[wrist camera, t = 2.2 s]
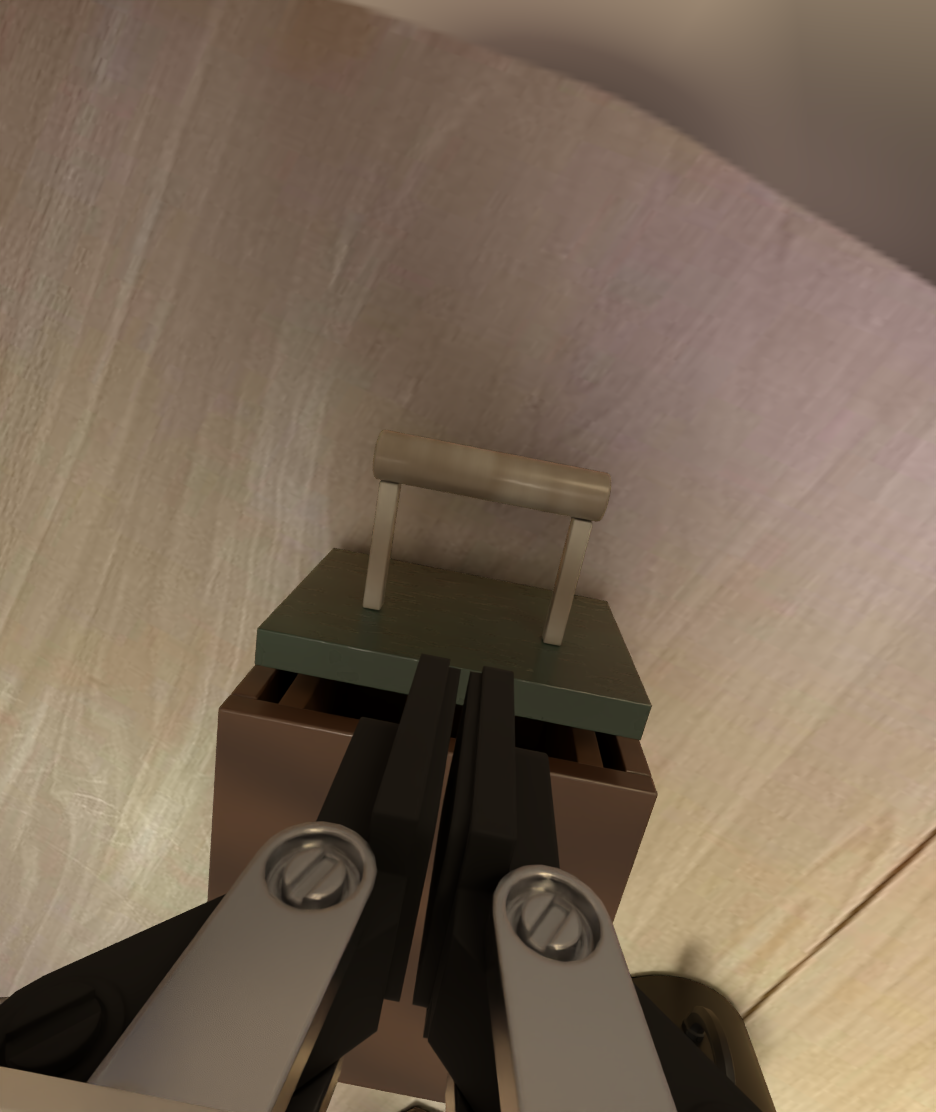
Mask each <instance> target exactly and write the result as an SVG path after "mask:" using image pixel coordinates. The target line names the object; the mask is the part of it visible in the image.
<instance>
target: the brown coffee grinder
mask: <svg viewBox="0 0 936 1112" xmlns="http://www.w3.org/2000/svg"><path fill="white" fill-rule="evenodd" d="M406 1112H427V1111H424V1110H422V1109H419V1108H417V1107H415V1108H413V1109H411V1110H408V1111H406Z"/></svg>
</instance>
